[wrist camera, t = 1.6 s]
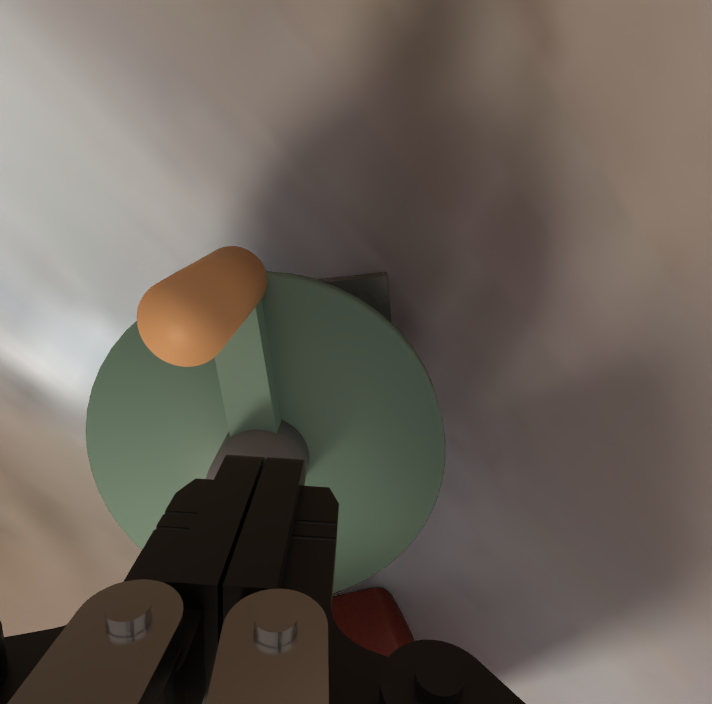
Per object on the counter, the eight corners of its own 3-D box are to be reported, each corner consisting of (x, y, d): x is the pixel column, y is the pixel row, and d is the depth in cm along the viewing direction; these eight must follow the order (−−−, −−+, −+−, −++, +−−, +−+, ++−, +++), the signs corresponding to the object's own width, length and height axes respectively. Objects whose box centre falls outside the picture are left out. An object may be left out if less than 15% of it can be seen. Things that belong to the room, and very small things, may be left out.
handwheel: (450, 566, 32) (481, 717, 24) (144, 590, 33) (63, 742, 25) (426, 220, 26) (456, 248, 18) (53, 261, 27) (-96, 306, 19)
